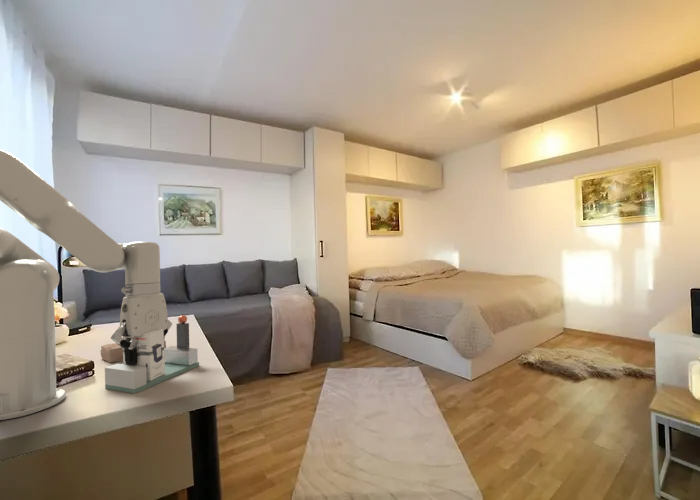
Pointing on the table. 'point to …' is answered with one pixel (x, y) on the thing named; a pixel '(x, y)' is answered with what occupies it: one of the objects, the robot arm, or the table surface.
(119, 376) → the vise
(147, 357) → the ink box
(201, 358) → the table surface
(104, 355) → the brick
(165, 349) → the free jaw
